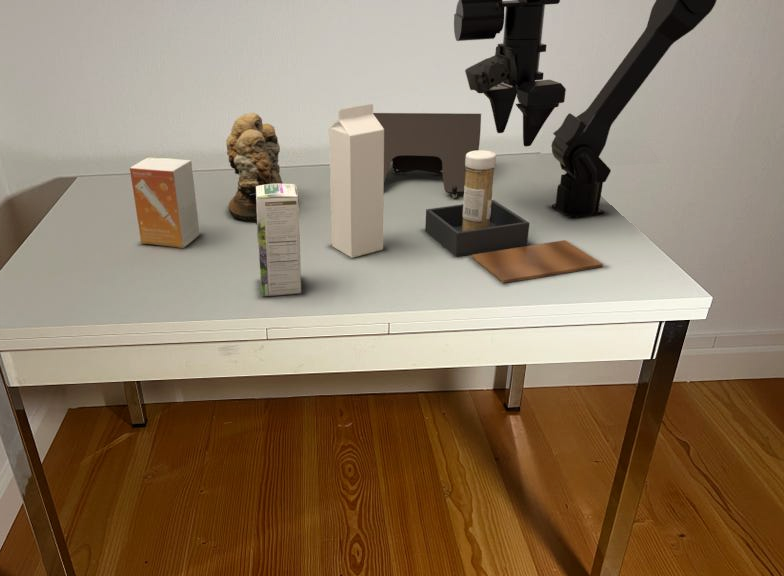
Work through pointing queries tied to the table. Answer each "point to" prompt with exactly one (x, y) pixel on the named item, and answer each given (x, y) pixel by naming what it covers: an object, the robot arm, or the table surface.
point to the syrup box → (278, 239)
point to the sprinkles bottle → (478, 189)
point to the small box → (165, 201)
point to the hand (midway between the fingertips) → (513, 139)
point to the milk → (357, 181)
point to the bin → (476, 230)
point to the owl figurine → (252, 162)
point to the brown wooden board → (535, 261)
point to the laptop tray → (430, 144)
